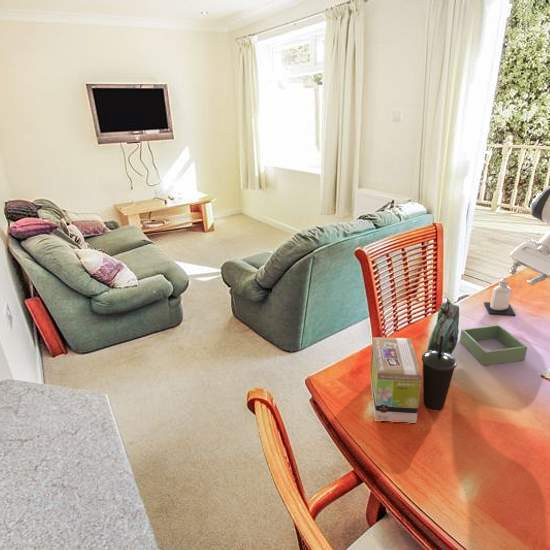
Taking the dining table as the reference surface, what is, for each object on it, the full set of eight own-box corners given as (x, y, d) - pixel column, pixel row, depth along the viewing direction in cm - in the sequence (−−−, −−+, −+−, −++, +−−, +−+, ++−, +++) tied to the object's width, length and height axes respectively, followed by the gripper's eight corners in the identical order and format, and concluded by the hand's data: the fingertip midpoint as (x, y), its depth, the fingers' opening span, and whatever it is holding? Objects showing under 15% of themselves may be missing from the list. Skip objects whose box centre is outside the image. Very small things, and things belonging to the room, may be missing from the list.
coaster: (509, 304, 134) (509, 303, 134) (515, 316, 127) (515, 314, 127) (484, 303, 136) (484, 302, 136) (489, 314, 129) (489, 313, 129)
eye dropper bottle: (508, 312, 128) (514, 280, 124) (489, 309, 131) (495, 278, 126) (507, 306, 132) (514, 275, 127) (489, 303, 134) (495, 273, 130)
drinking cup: (443, 420, 89) (453, 350, 81) (412, 405, 94) (418, 339, 86) (454, 401, 94) (465, 334, 86) (424, 389, 99) (431, 324, 91)
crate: (496, 336, 117) (499, 324, 115) (524, 360, 106) (527, 347, 104) (459, 341, 116) (461, 329, 115) (483, 365, 105) (485, 352, 103)
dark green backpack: (436, 346, 115) (443, 288, 107) (459, 352, 112) (468, 292, 103) (418, 384, 100) (425, 320, 92) (444, 393, 97) (453, 327, 89)
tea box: (418, 425, 88) (423, 374, 82) (374, 422, 90) (375, 373, 84) (407, 382, 102) (411, 336, 96) (369, 380, 103) (371, 335, 97)
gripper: (525, 233, 132) (494, 262, 135) (573, 252, 113) (536, 285, 117) (534, 243, 134) (504, 271, 137) (583, 264, 115) (547, 296, 119)
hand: (519, 278), depth 127 cm, fingers open, 8 cm apart
